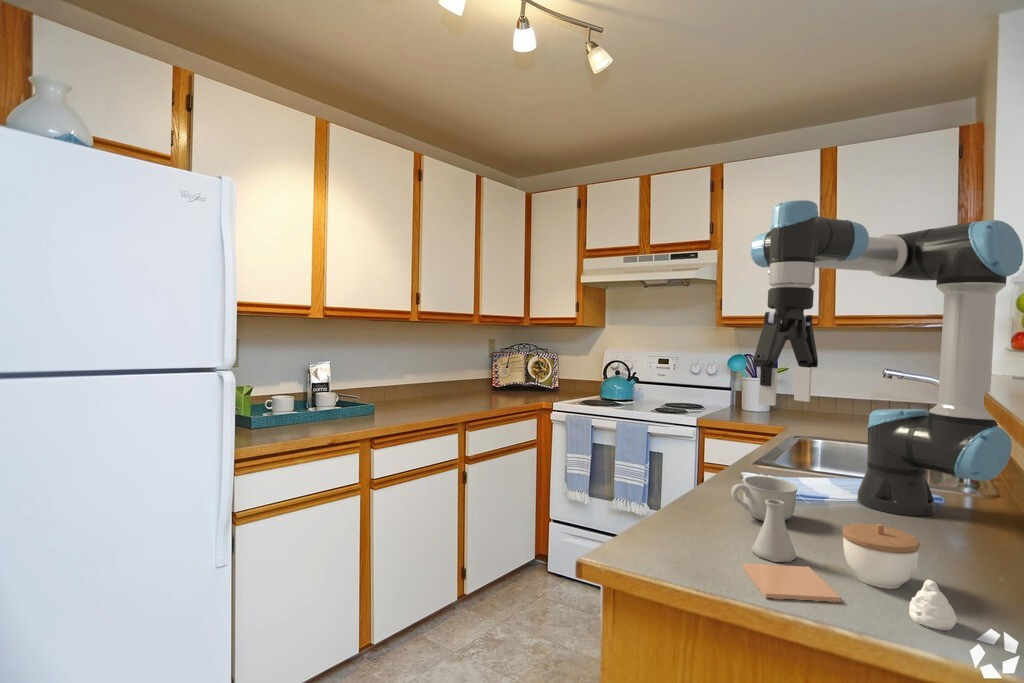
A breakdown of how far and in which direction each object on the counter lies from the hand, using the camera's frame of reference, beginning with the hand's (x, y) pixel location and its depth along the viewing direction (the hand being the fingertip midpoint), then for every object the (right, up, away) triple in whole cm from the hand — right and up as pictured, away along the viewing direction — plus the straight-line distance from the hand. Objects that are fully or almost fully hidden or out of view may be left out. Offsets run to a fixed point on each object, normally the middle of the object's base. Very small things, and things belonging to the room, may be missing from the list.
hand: (785, 403), depth 104 cm
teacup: (+5, -28, +20) cm, 35 cm away
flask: (-2, -28, 0) cm, 28 cm away
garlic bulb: (+10, -29, -23) cm, 38 cm away
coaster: (-5, -28, -12) cm, 31 cm away
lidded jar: (+11, -29, -10) cm, 32 cm away
